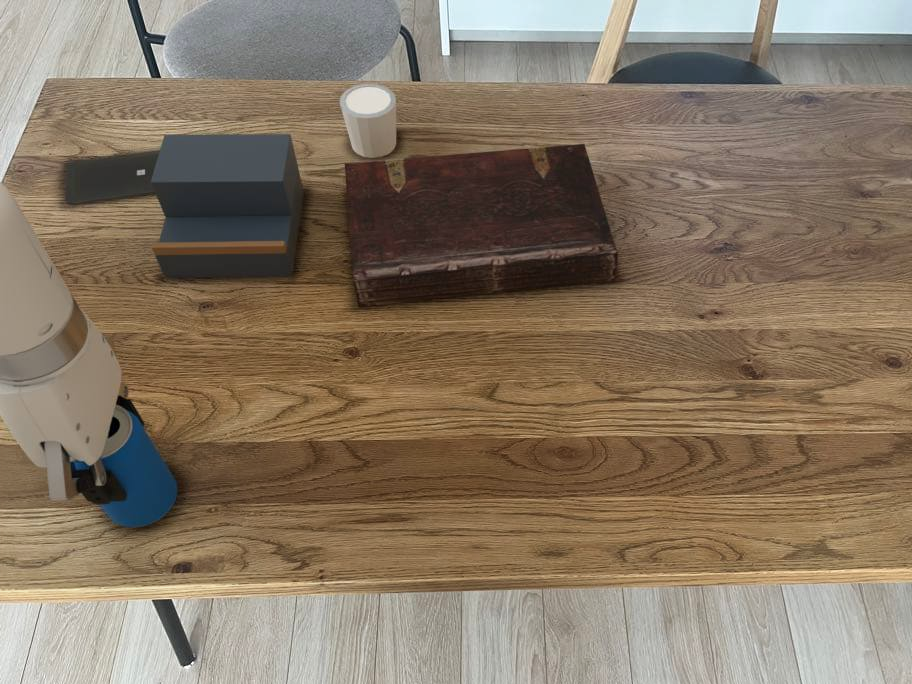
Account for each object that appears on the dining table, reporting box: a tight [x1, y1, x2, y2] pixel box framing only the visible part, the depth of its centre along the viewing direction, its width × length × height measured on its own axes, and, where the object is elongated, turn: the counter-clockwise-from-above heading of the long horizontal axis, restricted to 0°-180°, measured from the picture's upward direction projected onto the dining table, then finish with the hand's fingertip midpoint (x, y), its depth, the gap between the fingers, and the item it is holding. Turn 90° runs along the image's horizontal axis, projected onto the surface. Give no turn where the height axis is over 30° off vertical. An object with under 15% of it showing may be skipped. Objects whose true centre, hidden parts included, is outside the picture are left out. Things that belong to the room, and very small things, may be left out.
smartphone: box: [64, 150, 160, 206], centre depth 106 cm, size 8×15×1 cm, turn 105°
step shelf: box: [151, 133, 305, 279], centre depth 98 cm, size 14×14×9 cm
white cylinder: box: [339, 83, 397, 159], centre depth 109 cm, size 7×7×7 cm
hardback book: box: [344, 143, 619, 308], centre depth 101 cm, size 29×19×5 cm, turn 100°
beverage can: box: [74, 405, 178, 528], centre depth 77 cm, size 6×6×12 cm
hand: (117, 461), depth 76 cm, fingers closed on beverage can, 6 cm apart
